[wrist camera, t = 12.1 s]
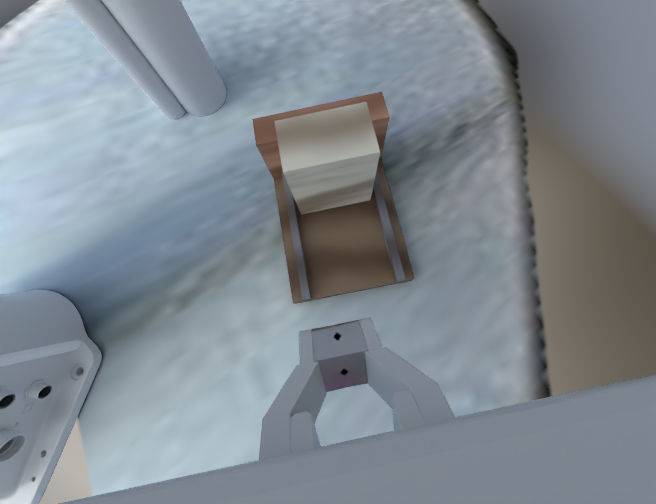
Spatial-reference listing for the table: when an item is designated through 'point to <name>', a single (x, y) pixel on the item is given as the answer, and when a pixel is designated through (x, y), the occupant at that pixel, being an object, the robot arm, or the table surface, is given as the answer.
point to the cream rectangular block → (329, 157)
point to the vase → (157, 52)
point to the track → (338, 223)
